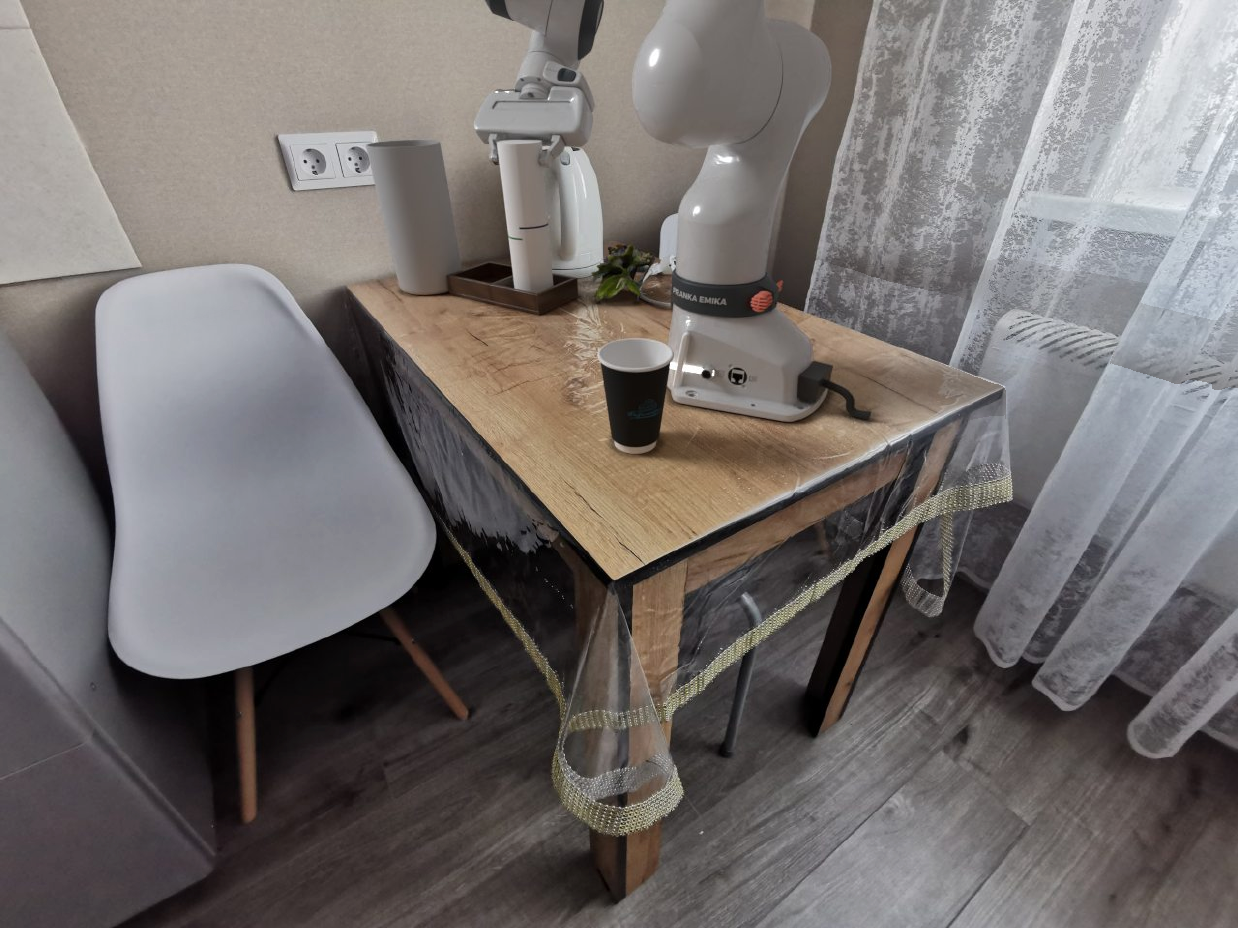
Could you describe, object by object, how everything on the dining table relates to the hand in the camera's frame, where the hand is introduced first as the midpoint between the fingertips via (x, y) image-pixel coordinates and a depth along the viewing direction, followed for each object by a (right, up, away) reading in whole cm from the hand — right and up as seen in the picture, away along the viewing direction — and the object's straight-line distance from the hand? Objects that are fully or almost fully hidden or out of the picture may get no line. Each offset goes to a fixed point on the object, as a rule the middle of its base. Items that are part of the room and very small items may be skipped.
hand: (519, 164), depth 91 cm
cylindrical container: (+1, -18, +13) cm, 22 cm away
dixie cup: (+18, -47, -27) cm, 57 cm away
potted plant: (+17, -18, +14) cm, 29 cm away
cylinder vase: (-21, -13, +21) cm, 33 cm away
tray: (-4, -17, +16) cm, 23 cm away
